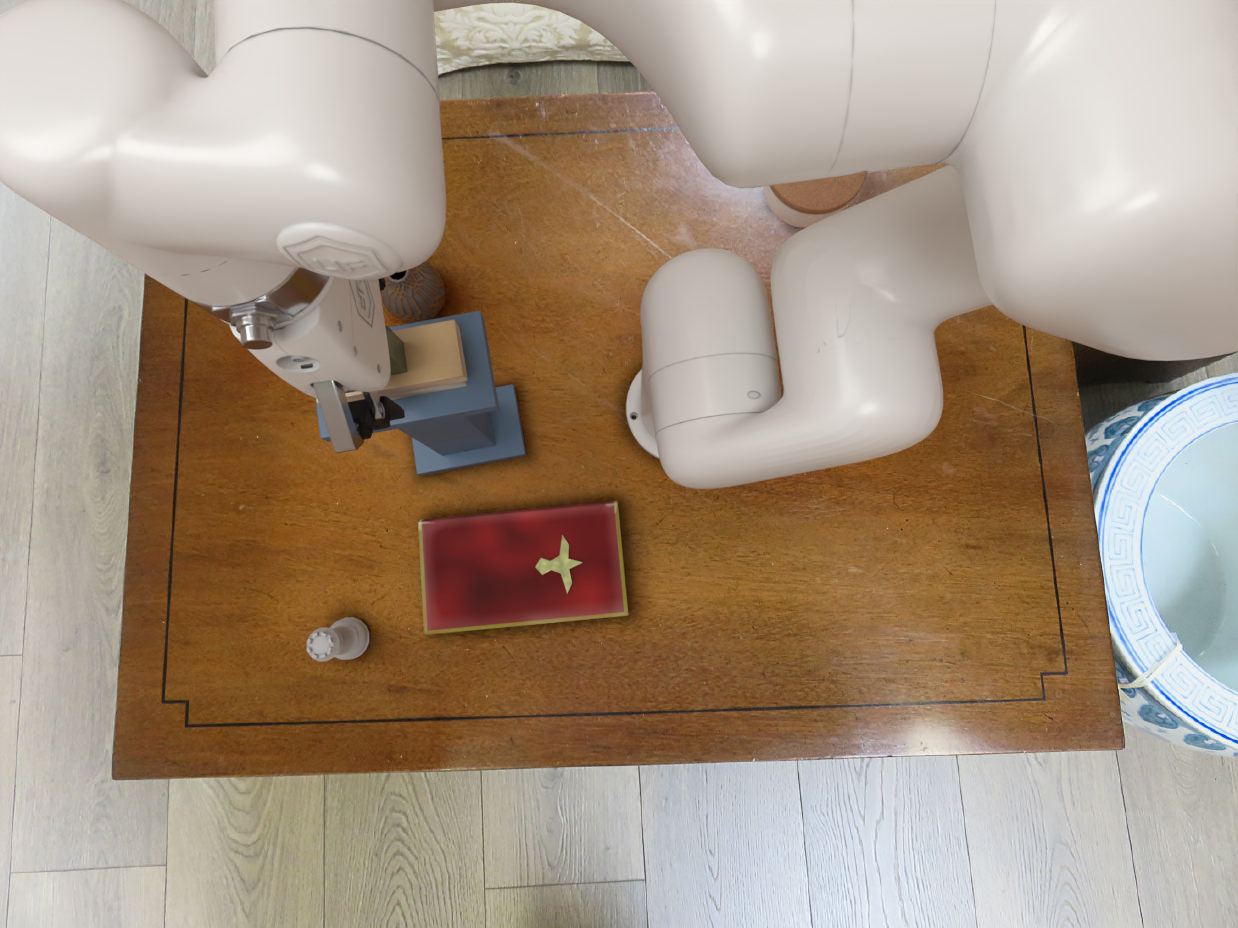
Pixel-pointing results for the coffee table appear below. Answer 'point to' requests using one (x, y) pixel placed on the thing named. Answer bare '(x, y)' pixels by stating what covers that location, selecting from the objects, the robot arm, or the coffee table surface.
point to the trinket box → (812, 198)
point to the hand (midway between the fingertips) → (374, 352)
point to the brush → (422, 361)
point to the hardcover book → (522, 567)
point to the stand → (460, 411)
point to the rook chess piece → (339, 640)
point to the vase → (414, 293)
